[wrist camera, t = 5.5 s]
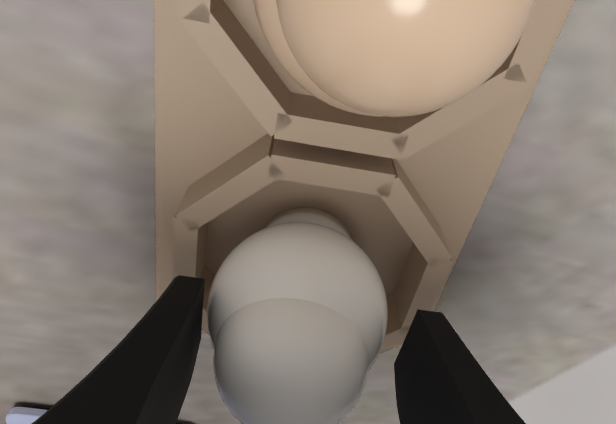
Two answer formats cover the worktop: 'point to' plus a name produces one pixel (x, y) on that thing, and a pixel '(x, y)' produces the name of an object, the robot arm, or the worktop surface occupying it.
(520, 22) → the brown egg
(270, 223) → the cream egg
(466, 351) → the robot arm
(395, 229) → the egg tray
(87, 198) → the worktop surface
